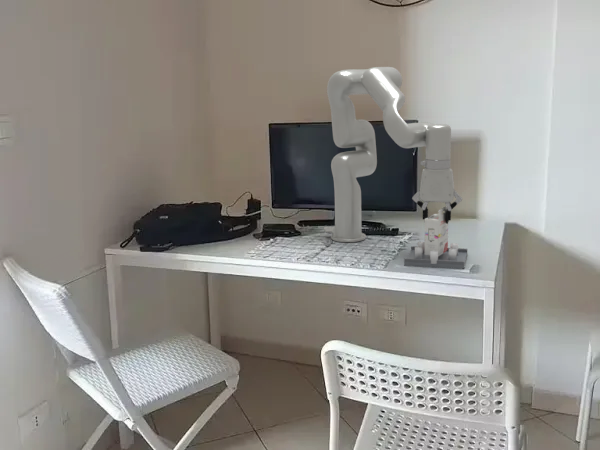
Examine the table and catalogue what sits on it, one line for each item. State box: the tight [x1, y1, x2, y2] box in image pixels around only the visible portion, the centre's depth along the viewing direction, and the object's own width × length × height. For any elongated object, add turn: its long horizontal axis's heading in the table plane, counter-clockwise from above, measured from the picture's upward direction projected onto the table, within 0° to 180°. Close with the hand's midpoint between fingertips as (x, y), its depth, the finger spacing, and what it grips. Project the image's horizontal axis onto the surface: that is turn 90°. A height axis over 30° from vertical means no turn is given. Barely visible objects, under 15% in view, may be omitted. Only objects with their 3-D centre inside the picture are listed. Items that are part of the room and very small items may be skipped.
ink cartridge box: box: [424, 206, 449, 256], centre depth 207 cm, size 9×5×15 cm, turn 148°
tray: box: [403, 241, 468, 269], centre depth 209 cm, size 18×17×5 cm
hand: (436, 221), depth 207 cm, fingers closed on ink cartridge box, 5 cm apart
